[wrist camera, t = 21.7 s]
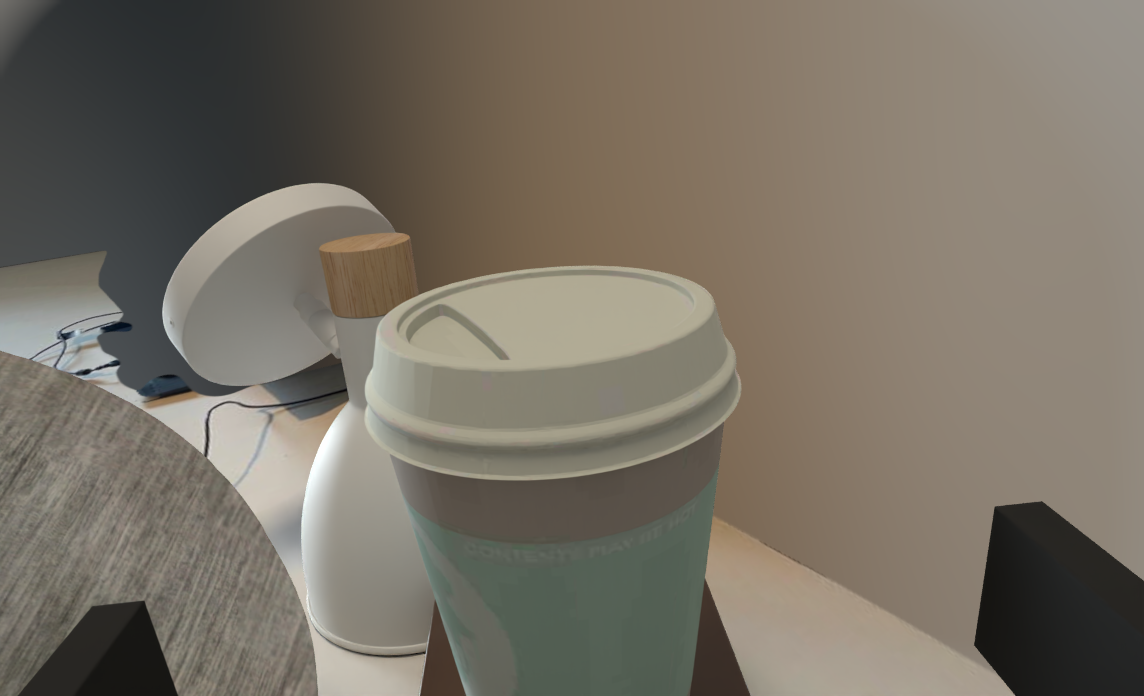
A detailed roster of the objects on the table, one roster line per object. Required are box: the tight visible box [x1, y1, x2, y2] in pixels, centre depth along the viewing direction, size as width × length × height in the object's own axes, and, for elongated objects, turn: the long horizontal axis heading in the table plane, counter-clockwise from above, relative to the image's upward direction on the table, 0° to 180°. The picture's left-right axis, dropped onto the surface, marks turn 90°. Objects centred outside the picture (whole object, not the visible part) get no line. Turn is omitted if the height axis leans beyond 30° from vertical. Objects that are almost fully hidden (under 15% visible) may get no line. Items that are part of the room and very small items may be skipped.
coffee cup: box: [365, 266, 741, 696], centre depth 22 cm, size 11×11×15 cm
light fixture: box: [163, 183, 435, 655], centre depth 37 cm, size 13×21×20 cm
